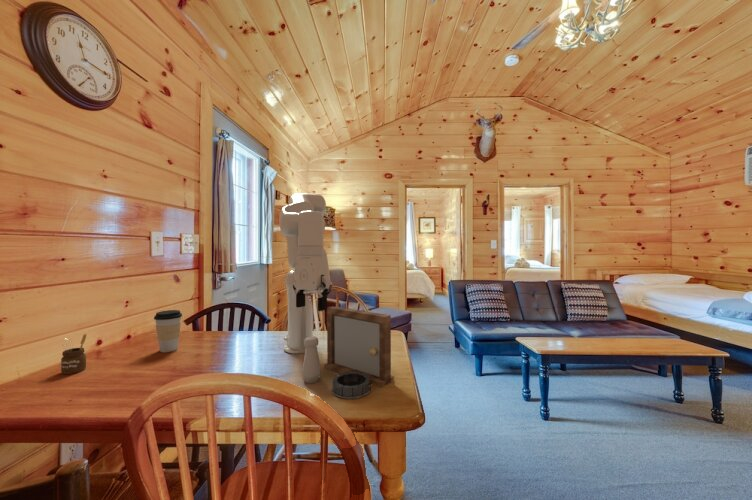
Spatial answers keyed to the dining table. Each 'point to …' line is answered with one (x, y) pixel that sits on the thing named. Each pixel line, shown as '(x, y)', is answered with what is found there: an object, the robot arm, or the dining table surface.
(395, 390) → the dining table surface
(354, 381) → the socket
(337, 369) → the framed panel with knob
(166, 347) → the coffee cup
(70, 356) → the utensil holder
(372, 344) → the door
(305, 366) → the salt shaker
